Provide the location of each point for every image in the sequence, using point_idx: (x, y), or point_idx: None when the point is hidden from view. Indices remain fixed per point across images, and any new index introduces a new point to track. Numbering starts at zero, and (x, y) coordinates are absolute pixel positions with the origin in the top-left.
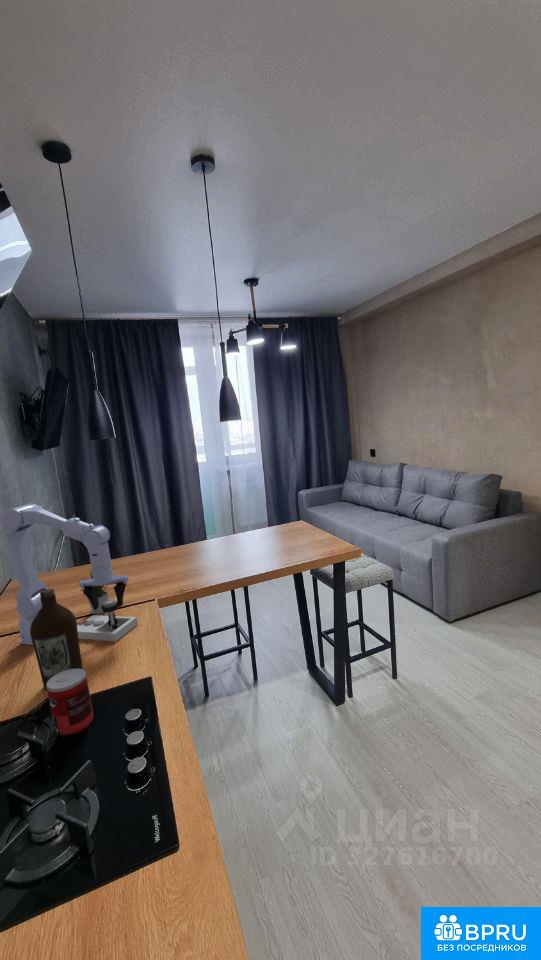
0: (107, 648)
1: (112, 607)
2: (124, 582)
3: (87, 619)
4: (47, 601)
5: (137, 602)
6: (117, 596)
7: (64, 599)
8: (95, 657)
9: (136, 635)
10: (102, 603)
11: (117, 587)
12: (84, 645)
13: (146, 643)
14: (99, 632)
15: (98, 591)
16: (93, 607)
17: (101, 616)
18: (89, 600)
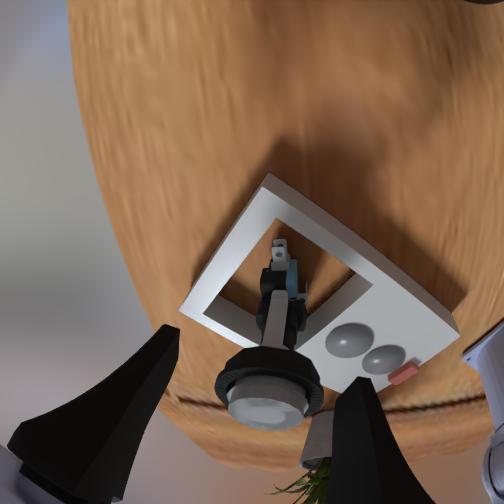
0: (306, 115)
1: (245, 365)
2: (5, 462)
3: (383, 385)
4: None
5: (227, 411)
6: (121, 396)
7: None
8: (359, 50)
9: (173, 187)
10: (322, 437)
11: (30, 461)
12: (418, 220)
13: (118, 88)
14: (351, 253)
15: (325, 475)
16: (376, 393)
17: (333, 385)
18: None
